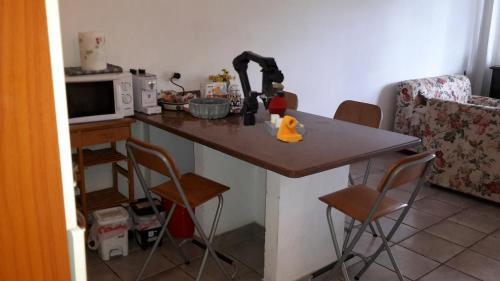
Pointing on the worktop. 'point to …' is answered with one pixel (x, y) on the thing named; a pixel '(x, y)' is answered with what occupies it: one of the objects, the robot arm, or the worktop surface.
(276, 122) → the tab
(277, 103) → the bottle
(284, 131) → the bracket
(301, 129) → the switch bank
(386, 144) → the worktop surface
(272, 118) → the tab
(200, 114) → the bundt pan
